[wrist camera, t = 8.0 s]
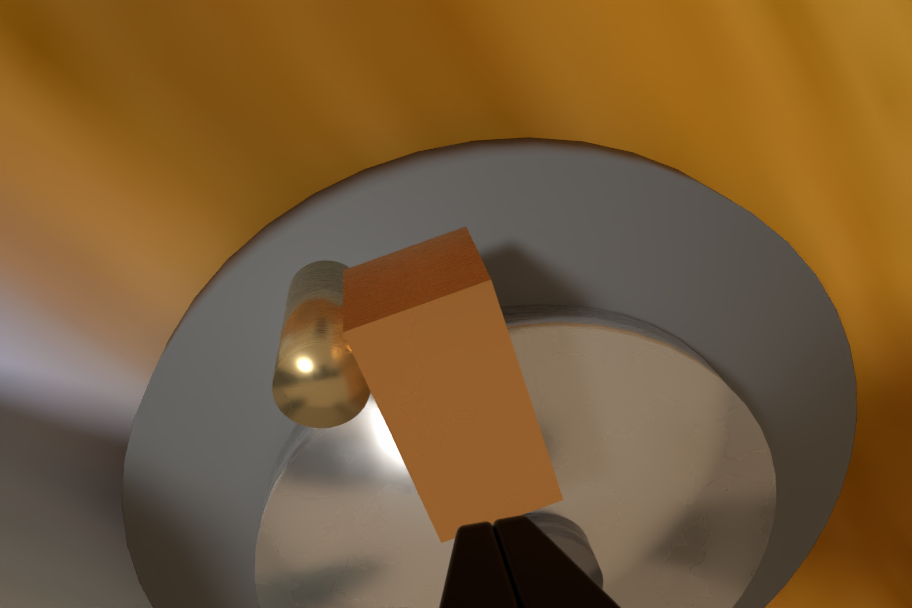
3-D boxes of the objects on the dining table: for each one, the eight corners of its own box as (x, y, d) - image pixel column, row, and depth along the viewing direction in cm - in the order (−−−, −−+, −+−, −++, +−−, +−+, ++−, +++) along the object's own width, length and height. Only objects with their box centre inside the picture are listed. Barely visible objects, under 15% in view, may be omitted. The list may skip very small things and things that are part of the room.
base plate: (380, 767, 31) (382, 815, 29) (-39, 394, 20) (-76, 436, 18) (875, 532, 29) (909, 569, 27) (707, -31, 18) (748, -31, 16)
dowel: (315, 340, 19) (307, 443, 15) (272, 283, 18) (252, 376, 14) (379, 306, 18) (388, 400, 14) (338, 247, 18) (337, 329, 14)
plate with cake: (769, 599, 26) (849, 718, 22) (372, 737, 26) (377, 881, 22) (702, 116, 17) (815, 163, 13) (100, 331, 17) (24, 445, 13)
